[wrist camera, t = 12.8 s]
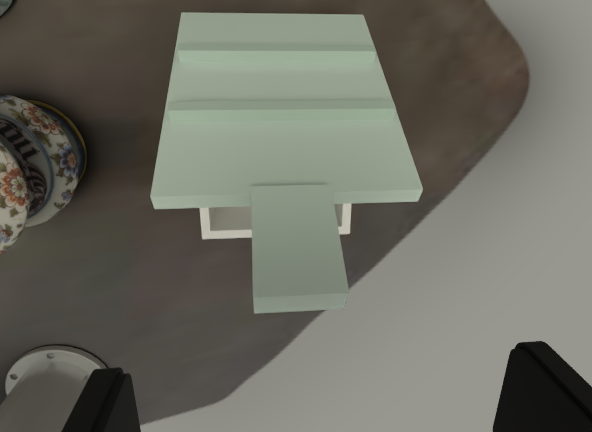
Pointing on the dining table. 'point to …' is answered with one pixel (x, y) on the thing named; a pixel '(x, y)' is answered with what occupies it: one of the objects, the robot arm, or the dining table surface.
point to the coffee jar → (4, 5)
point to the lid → (282, 141)
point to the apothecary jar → (35, 164)
